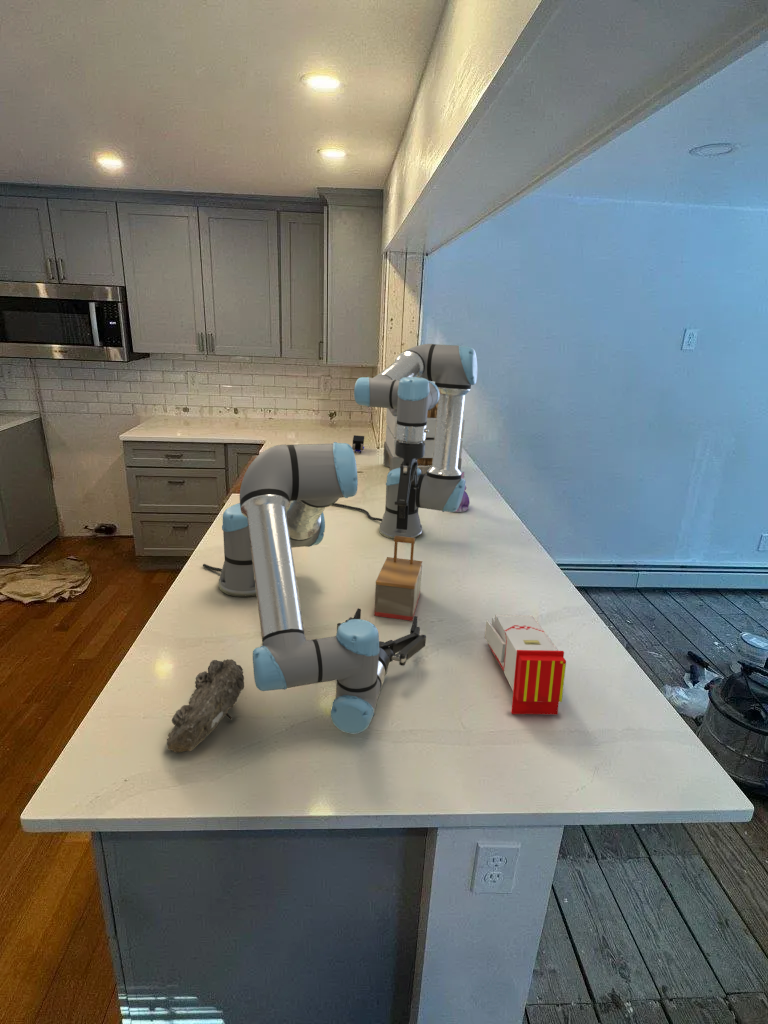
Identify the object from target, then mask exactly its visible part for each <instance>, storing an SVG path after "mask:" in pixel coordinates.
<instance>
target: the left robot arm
mask: <svg viewBox="0 0 768 1024" xmlns="http://www.w3.org/2000/svg"><path fill="white" fill-rule="evenodd" d="M354 451H355V450H353V449H352V446H351V445H350V443H346V442H336V441H333V442H332V443H302V444H301V443H300V444H277V445H276V444H275V445H273V446H271V447H268V448H267V449H265V450H263V451H261V452H260V453H258V455H257V456H256V457H255V458H254V459H253V460H252V461H251V463H250V464H249V465H248V468H247V469H246V471H245V473H244V475H243V478H242V481H241V484H240V489H239V502H238V503H235V504H233V505H231V506H229V507H227V508H226V509H225V510H224V512H223V514H222V525H221V530H222V534H223V535H222V536H223V556H224V562H223V563H222V567H221V568H219V567H215V566H212V565H208V564H206V563H203V564H202V567H203V568H206V569H208V570H210V571H215V572H220V575H219V578H218V588H219V589H220V591H221V592H222V593H224V594H225V595H228V596H232V597H236V598H237V597H239V598H249V597H250V598H251V597H254V596H256V602H257V610H258V618H259V619H258V620H259V627H260V635H261V642H262V643H261V644H262V645H260V646H258V647H255V648H254V649H253V650H252V667H253V679H254V683H255V687H256V689H257V690H259V691H261V692H269V691H279V690H283V691H284V690H287V689H291V688H297V687H303V686H308V685H314V684H319V683H320V684H321V683H326V682H327V683H328V682H332V681H336V683H335V684H336V689H335V691H336V693H335V697H334V699H333V700H332V703H331V708H330V720H331V722H332V724H333V725H334V726H335V728H337V729H338V730H339V731H341V732H343V733H345V734H346V733H347V734H352V735H356V734H357V735H358V734H361V733H363V732H364V731H366V730H367V729H368V728H369V726H370V724H371V721H372V720H373V717H374V716H375V711H376V707H377V704H378V700H379V697H380V693H381V690H382V687H383V684H384V682H385V678H386V675H387V672H388V669H389V666H390V663H392V662H393V661H395V662H399V663H398V665H399V666H402V667H403V666H405V665H406V663H407V662H408V660H409V659H410V658H412V657H414V655H416V654H417V653H418V652H420V651H421V650H422V649H424V648H425V647H426V644H427V643H426V642H427V635H426V634H421V632H420V631H421V627H420V626H418V615H414V617H413V621H412V623H411V626H410V630H409V634H406V635H404V636H401V637H399V638H397V639H394V640H393V639H390V640H387V641H385V642H384V641H380V634H379V630H378V628H377V626H376V624H375V625H374V623H372V622H371V621H369V620H366V619H361V618H362V617H361V616H362V615H361V614H362V609H361V608H359V607H358V608H356V610H355V613H354V615H353V617H348V619H346V620H345V621H344V622H342V623H341V622H338V623H336V634H335V635H333V636H326V637H320V638H313V639H307V638H306V634H305V626H304V619H303V613H302V606H301V599H300V593H299V587H298V581H297V573H296V569H295V562H294V554H293V549H292V548H303V547H305V548H310V547H313V546H318V545H319V544H320V543H321V542H322V541H323V539H324V536H325V534H324V533H325V531H326V521H325V514H324V511H325V509H326V508H329V507H331V506H334V505H333V504H334V503H336V502H338V501H339V499H342V498H344V499H348V498H353V497H355V496H356V494H357V493H358V486H359V485H358V482H359V479H358V467H357V461H356V455H355V453H354Z"/></svg>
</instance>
